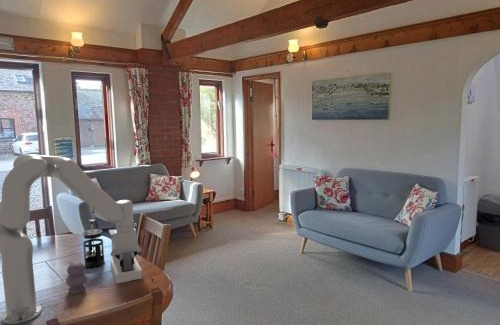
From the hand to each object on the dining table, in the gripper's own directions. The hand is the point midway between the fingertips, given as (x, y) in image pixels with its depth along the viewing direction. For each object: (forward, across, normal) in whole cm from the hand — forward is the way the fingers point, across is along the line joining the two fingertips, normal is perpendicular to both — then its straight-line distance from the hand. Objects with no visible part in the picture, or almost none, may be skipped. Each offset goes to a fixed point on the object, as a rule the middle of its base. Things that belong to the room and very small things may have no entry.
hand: (127, 266), depth 165 cm
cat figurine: (+5, +21, +2) cm, 22 cm away
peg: (+4, 0, 0) cm, 4 cm away
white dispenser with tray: (+5, 0, -6) cm, 8 cm away
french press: (+5, +12, -22) cm, 26 cm away
